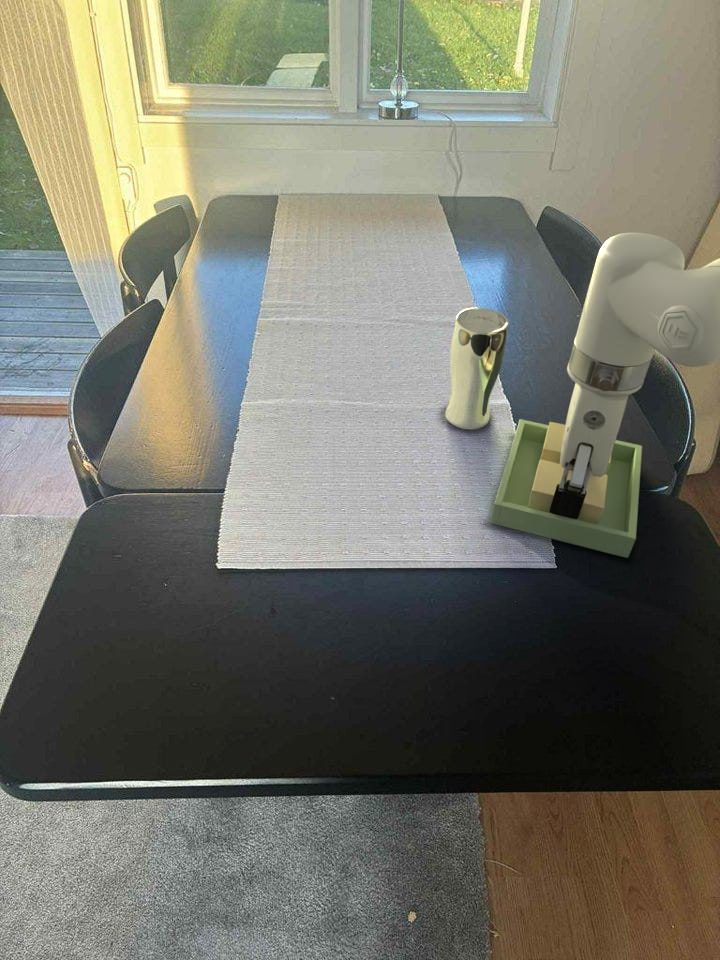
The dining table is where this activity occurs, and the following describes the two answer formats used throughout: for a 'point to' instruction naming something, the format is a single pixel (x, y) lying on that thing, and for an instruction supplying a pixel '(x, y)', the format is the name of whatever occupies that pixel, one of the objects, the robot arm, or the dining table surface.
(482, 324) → the beer glass
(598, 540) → the tray
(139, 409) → the dining table surface
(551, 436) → the pale yellow block
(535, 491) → the tan rectangular block
